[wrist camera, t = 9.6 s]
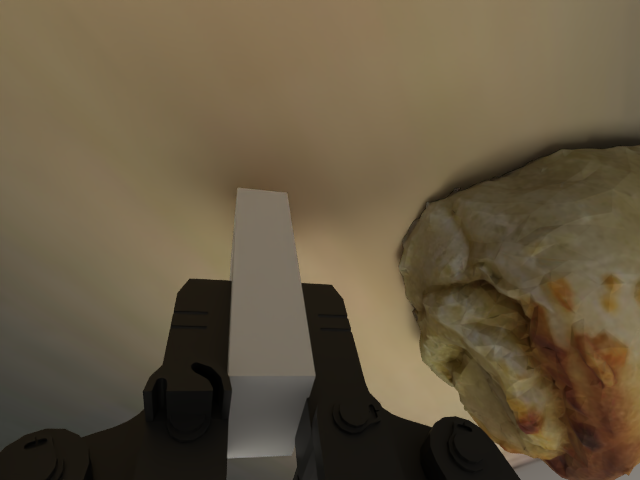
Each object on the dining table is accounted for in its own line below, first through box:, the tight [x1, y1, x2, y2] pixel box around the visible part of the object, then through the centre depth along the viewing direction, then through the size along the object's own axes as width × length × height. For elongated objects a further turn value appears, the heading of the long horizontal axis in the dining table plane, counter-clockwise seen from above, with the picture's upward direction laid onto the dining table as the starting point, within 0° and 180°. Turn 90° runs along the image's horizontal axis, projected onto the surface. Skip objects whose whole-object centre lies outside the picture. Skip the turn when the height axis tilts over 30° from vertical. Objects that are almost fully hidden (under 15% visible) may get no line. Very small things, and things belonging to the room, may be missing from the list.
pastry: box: [399, 145, 640, 480], centre depth 14 cm, size 14×12×8 cm
